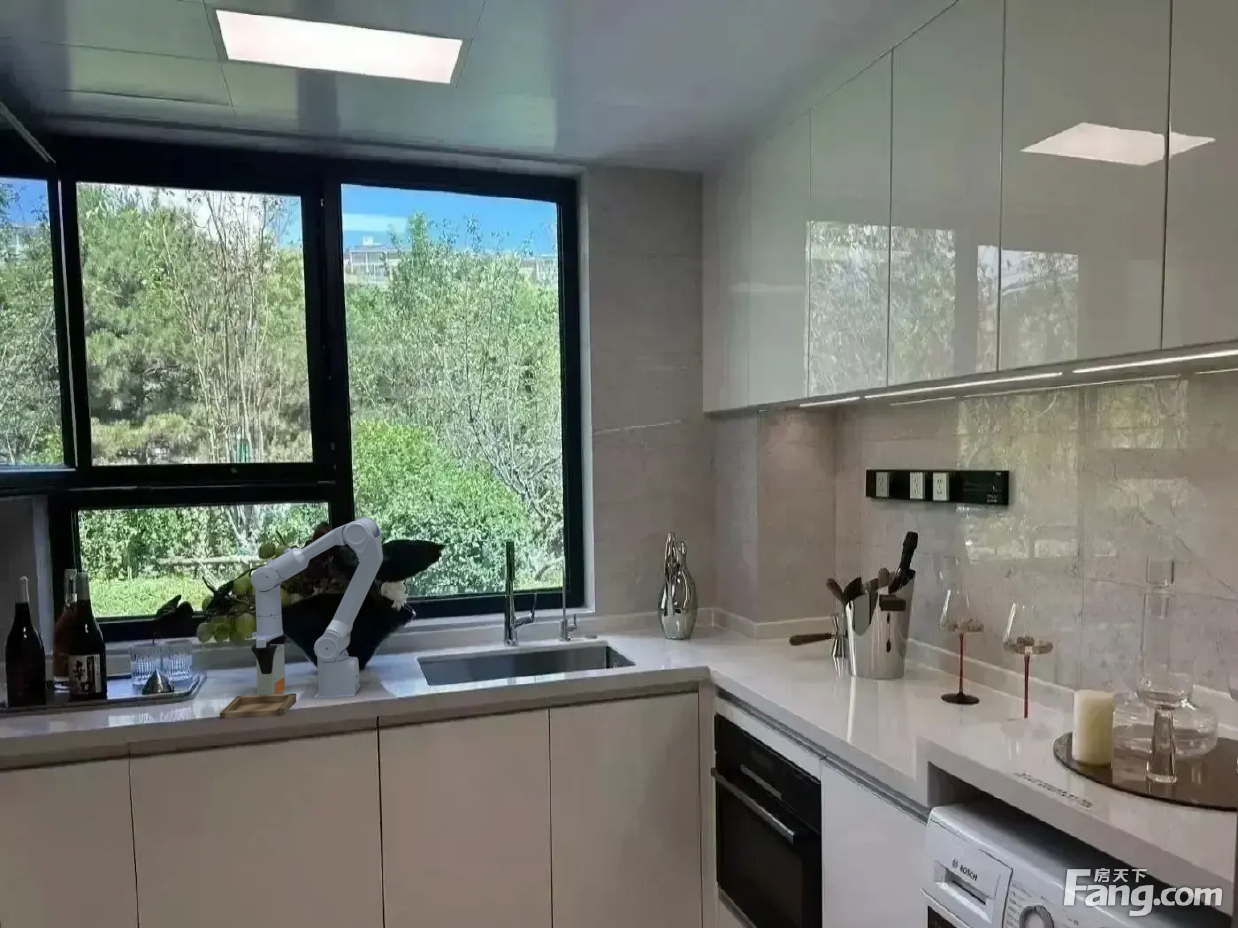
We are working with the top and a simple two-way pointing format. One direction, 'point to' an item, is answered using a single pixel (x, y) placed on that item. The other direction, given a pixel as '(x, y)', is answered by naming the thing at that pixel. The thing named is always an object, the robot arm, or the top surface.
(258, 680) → the skincare box
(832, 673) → the top surface
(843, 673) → the top surface
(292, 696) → the tray
